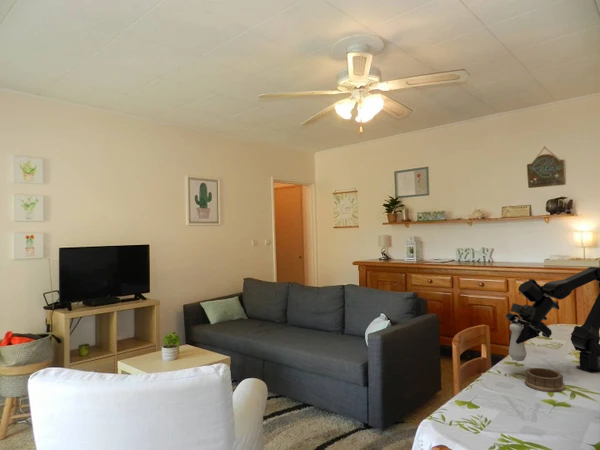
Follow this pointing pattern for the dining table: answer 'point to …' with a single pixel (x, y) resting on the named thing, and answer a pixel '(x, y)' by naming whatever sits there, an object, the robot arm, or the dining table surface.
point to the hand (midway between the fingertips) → (513, 341)
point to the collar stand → (544, 380)
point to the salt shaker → (516, 349)
